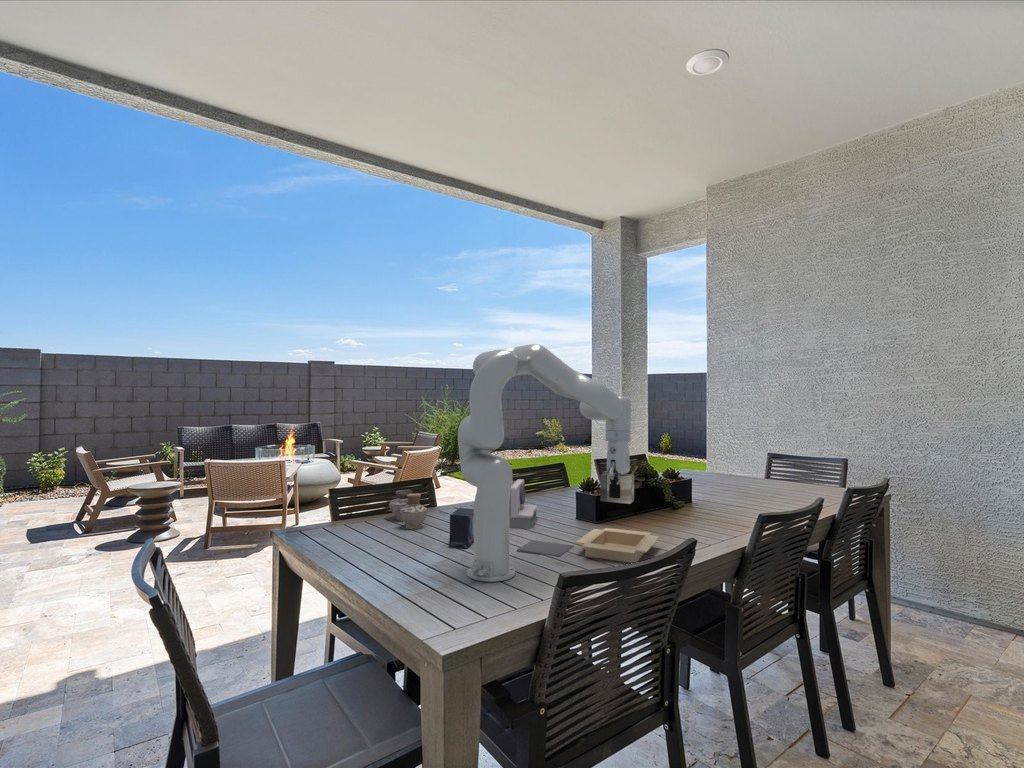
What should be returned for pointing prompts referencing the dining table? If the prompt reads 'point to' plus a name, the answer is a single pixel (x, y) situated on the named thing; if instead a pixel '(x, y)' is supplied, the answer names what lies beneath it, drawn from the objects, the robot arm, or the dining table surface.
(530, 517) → the grey l-shaped block
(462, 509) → the small box
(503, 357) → the robot arm
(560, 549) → the mat
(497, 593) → the dining table surface
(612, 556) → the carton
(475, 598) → the dining table surface
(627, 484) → the box
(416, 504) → the pottery
